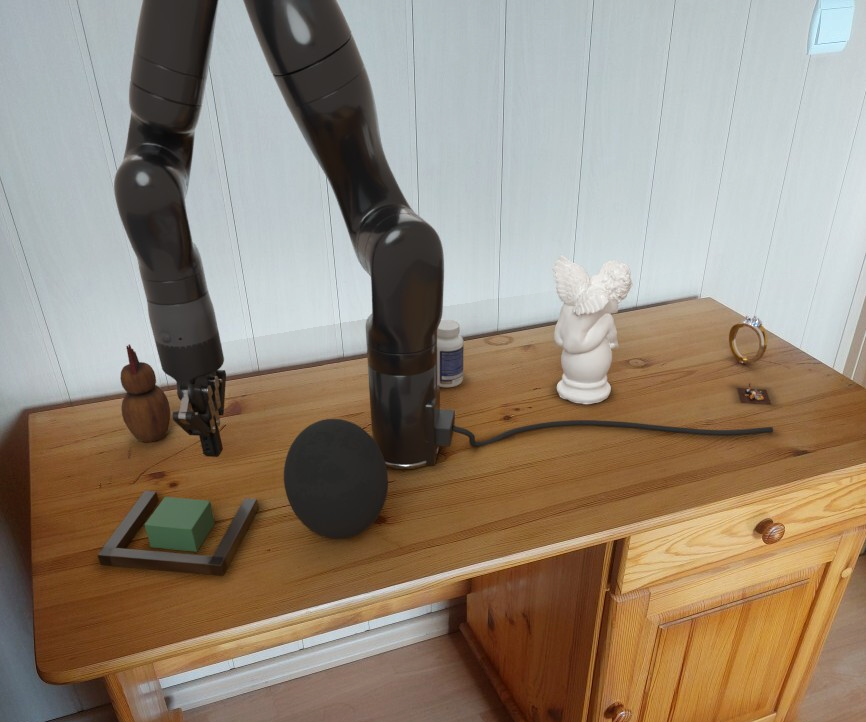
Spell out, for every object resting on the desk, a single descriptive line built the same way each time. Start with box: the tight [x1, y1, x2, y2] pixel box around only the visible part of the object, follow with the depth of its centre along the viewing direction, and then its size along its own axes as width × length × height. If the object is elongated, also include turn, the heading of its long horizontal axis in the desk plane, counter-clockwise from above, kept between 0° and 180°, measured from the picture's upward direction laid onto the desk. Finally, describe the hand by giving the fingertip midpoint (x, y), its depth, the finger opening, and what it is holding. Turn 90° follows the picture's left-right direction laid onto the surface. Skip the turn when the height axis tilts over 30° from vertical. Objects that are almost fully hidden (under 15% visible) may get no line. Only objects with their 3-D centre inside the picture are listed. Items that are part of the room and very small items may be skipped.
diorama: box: [736, 382, 772, 405], centre depth 129 cm, size 3×4×2 cm
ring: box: [728, 315, 769, 365], centre depth 136 cm, size 7×3×8 cm, turn 26°
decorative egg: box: [283, 418, 389, 540], centre depth 98 cm, size 12×12×15 cm
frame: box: [97, 490, 259, 577], centre depth 101 cm, size 15×14×2 cm
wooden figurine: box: [119, 343, 171, 443], centre depth 116 cm, size 7×6×15 cm
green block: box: [144, 496, 216, 553], centre depth 101 cm, size 6×6×4 cm
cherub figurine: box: [552, 254, 633, 405], centre depth 122 cm, size 12×12×22 cm
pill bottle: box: [437, 319, 465, 389], centre depth 131 cm, size 5×5×10 cm
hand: (213, 453), depth 108 cm, fingers closed
